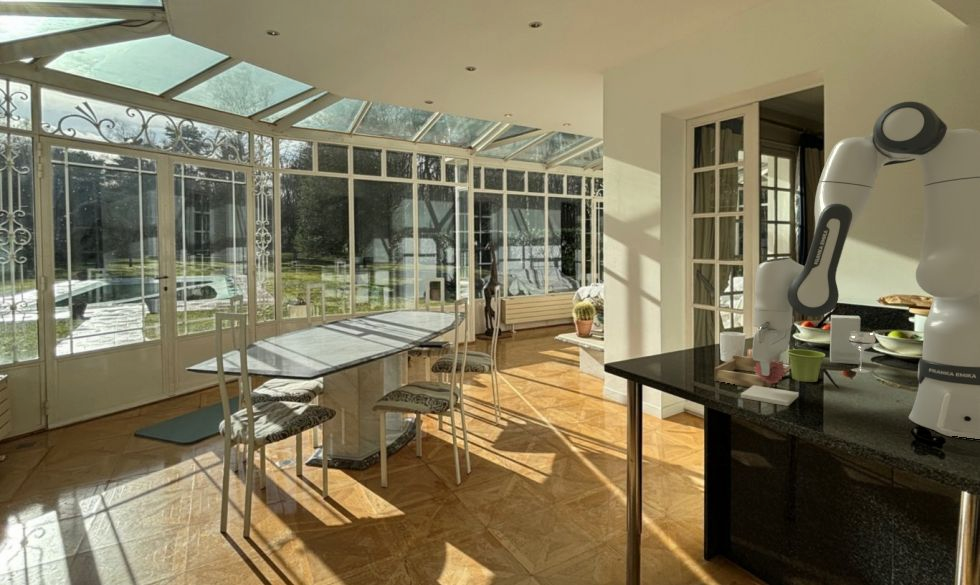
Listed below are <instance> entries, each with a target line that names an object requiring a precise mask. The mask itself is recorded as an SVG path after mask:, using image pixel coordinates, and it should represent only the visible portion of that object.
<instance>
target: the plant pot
mask: <svg viewBox="0 0 980 585" xmlns="http://www.w3.org/2000/svg"><path fill="white" fill-rule="evenodd" d="M786 352H787V354H788V358H789V359H790V360H789V361H790V363H791V369H790V371H791V378H792V379H793V380H795V381H799V382H804V383H815V382H818V379H819V374H820V369H821V365H822V362H823V361H824V359H825V357H826V354H825V353H824V352H821V351H817V350H816V351H815V350H809V349H789V350H788V349H787V350H786Z"/></svg>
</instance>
